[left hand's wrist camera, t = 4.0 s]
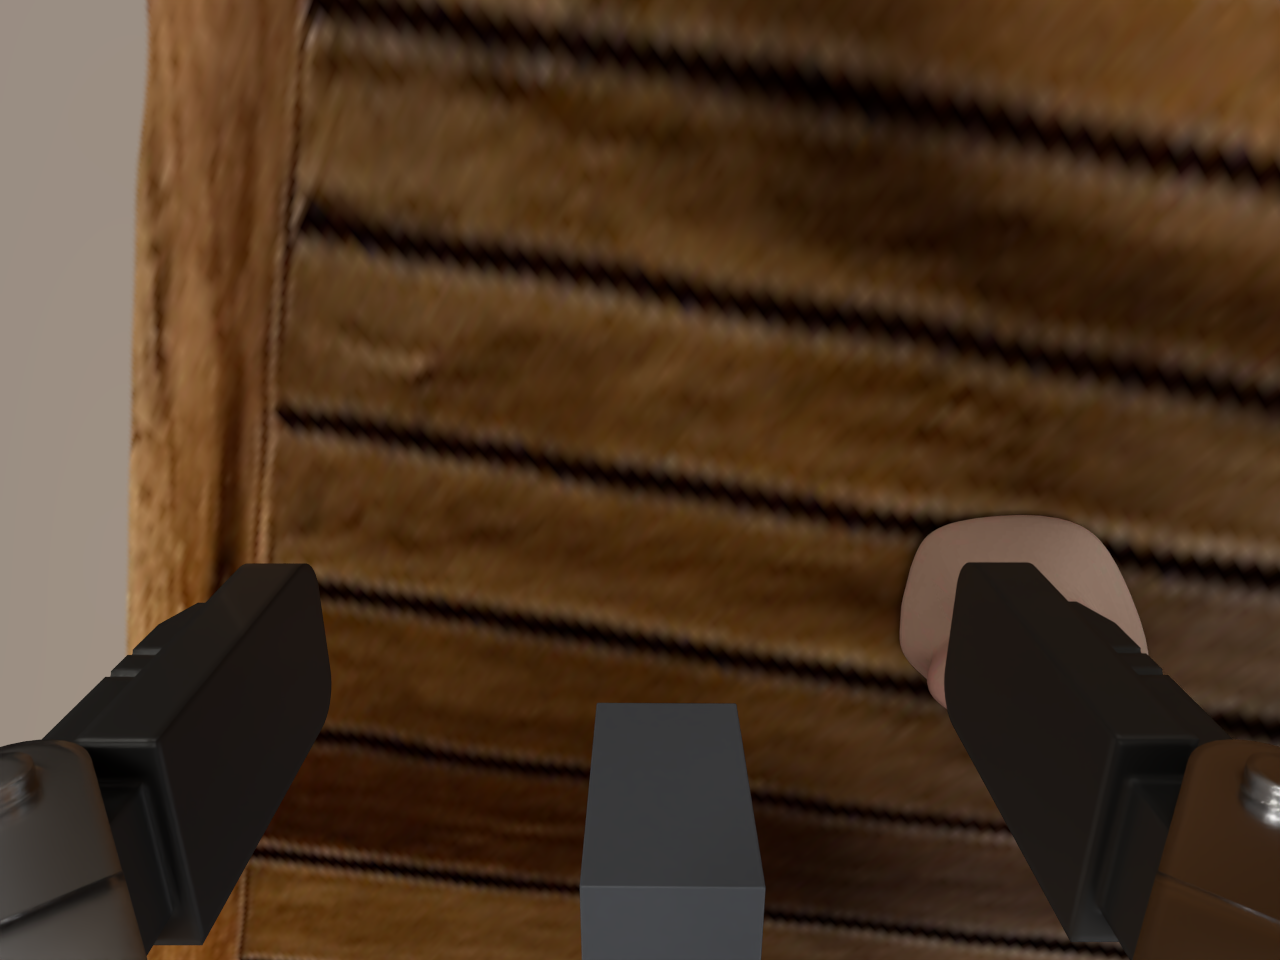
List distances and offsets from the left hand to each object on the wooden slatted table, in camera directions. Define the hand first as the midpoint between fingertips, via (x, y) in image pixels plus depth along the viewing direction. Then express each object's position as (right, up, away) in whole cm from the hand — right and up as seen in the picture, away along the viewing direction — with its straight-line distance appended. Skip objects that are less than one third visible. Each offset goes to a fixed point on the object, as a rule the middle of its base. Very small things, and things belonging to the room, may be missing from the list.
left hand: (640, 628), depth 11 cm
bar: (+1, -18, +28) cm, 34 cm away
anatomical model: (+19, -5, +33) cm, 38 cm away
